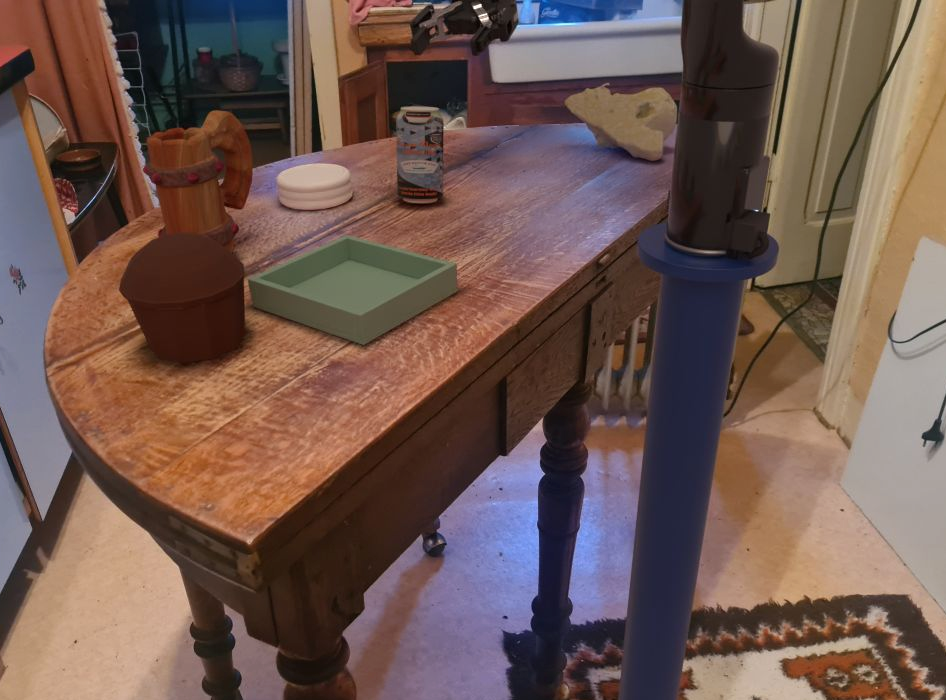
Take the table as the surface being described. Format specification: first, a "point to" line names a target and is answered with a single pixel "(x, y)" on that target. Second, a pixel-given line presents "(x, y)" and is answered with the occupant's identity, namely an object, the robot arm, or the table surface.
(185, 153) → the mug
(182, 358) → the muffin
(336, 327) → the tray
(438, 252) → the table surface
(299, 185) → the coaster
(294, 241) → the table surface
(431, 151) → the beverage can
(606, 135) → the cheese
